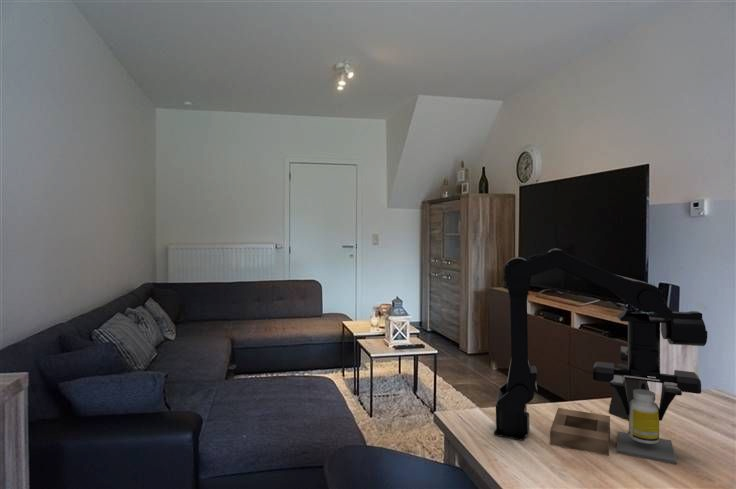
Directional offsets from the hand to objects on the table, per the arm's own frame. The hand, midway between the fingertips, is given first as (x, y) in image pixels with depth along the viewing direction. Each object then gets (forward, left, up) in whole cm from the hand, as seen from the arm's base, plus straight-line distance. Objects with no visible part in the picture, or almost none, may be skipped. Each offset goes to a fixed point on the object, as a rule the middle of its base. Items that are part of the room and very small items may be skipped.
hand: (644, 417), depth 94 cm
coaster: (0, 0, -6) cm, 6 cm away
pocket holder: (-12, 0, -6) cm, 14 cm away
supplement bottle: (0, 0, -5) cm, 5 cm away
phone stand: (-2, +19, -7) cm, 20 cm away
